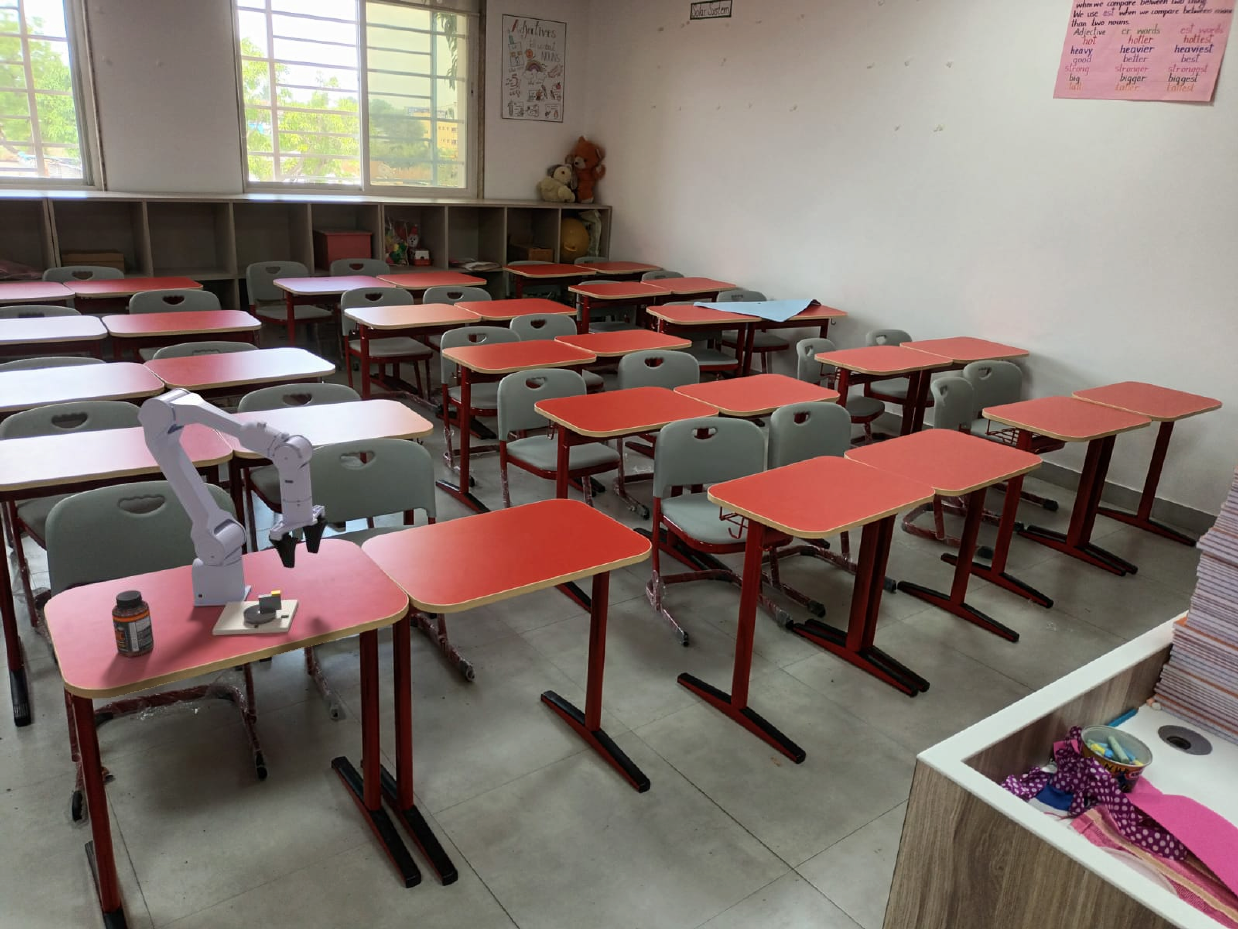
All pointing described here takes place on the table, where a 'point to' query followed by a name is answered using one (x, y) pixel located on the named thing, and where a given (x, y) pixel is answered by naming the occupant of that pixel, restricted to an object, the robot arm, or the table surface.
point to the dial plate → (235, 624)
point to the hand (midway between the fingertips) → (301, 559)
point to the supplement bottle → (132, 624)
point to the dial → (264, 609)
